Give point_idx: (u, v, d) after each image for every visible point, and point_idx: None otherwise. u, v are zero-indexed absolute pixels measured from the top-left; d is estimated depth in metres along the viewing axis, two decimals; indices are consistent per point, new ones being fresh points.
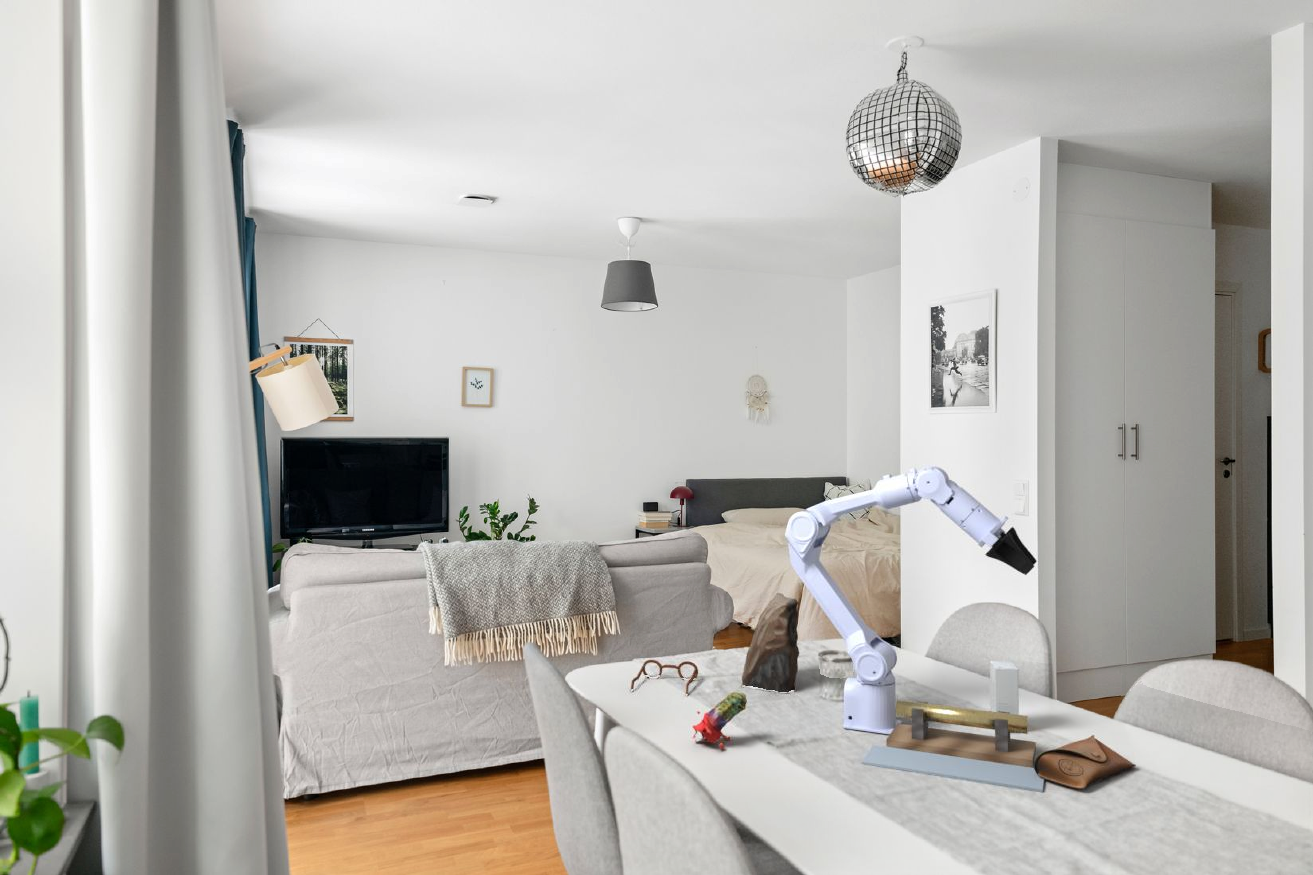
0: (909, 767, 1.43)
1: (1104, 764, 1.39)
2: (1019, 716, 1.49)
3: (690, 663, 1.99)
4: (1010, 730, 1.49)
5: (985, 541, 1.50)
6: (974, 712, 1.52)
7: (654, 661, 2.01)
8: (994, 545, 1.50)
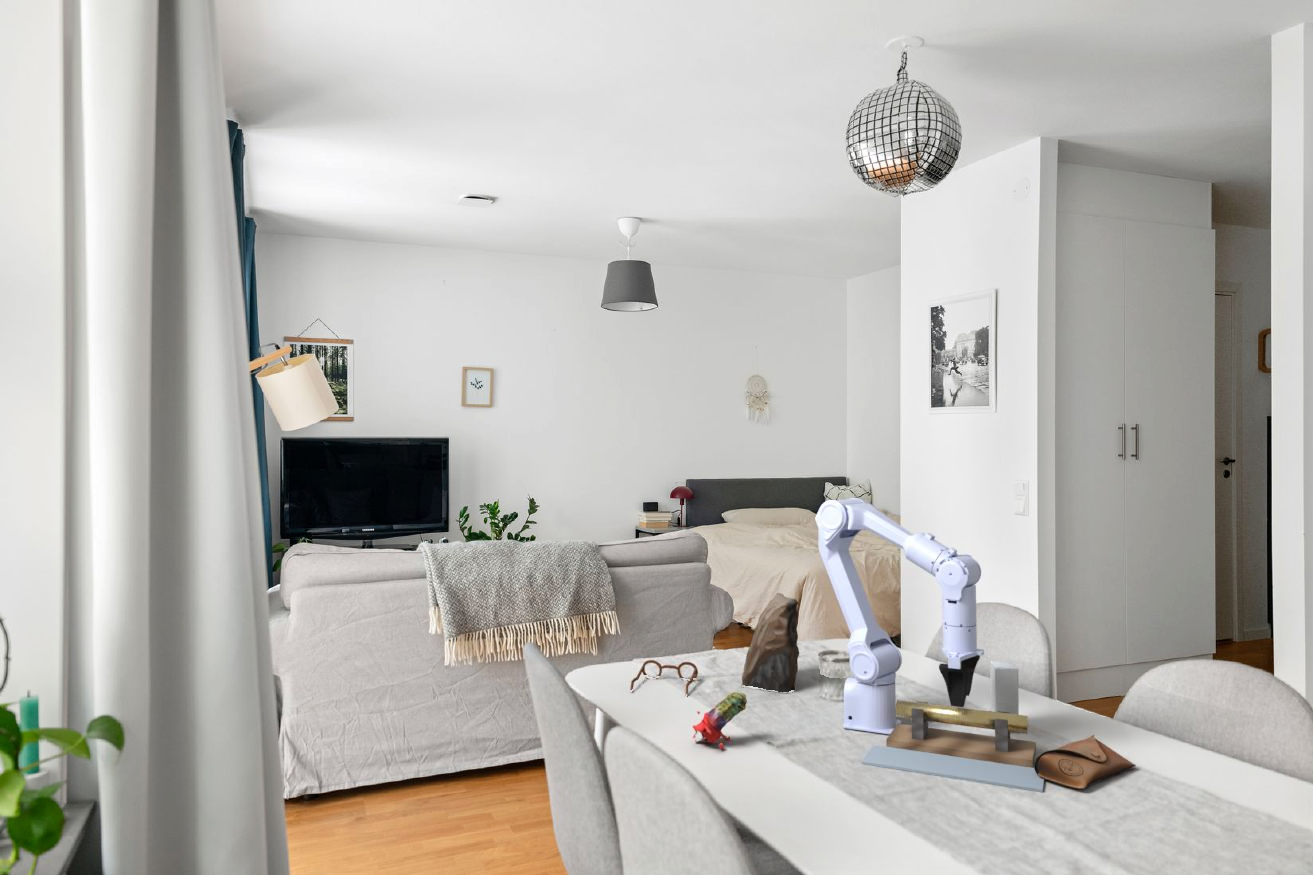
0: (909, 767, 1.43)
1: (1104, 764, 1.39)
2: (1019, 716, 1.49)
3: (690, 663, 1.98)
4: (1010, 730, 1.49)
5: (949, 660, 1.48)
6: (974, 712, 1.52)
7: (654, 661, 2.00)
8: (952, 668, 1.49)
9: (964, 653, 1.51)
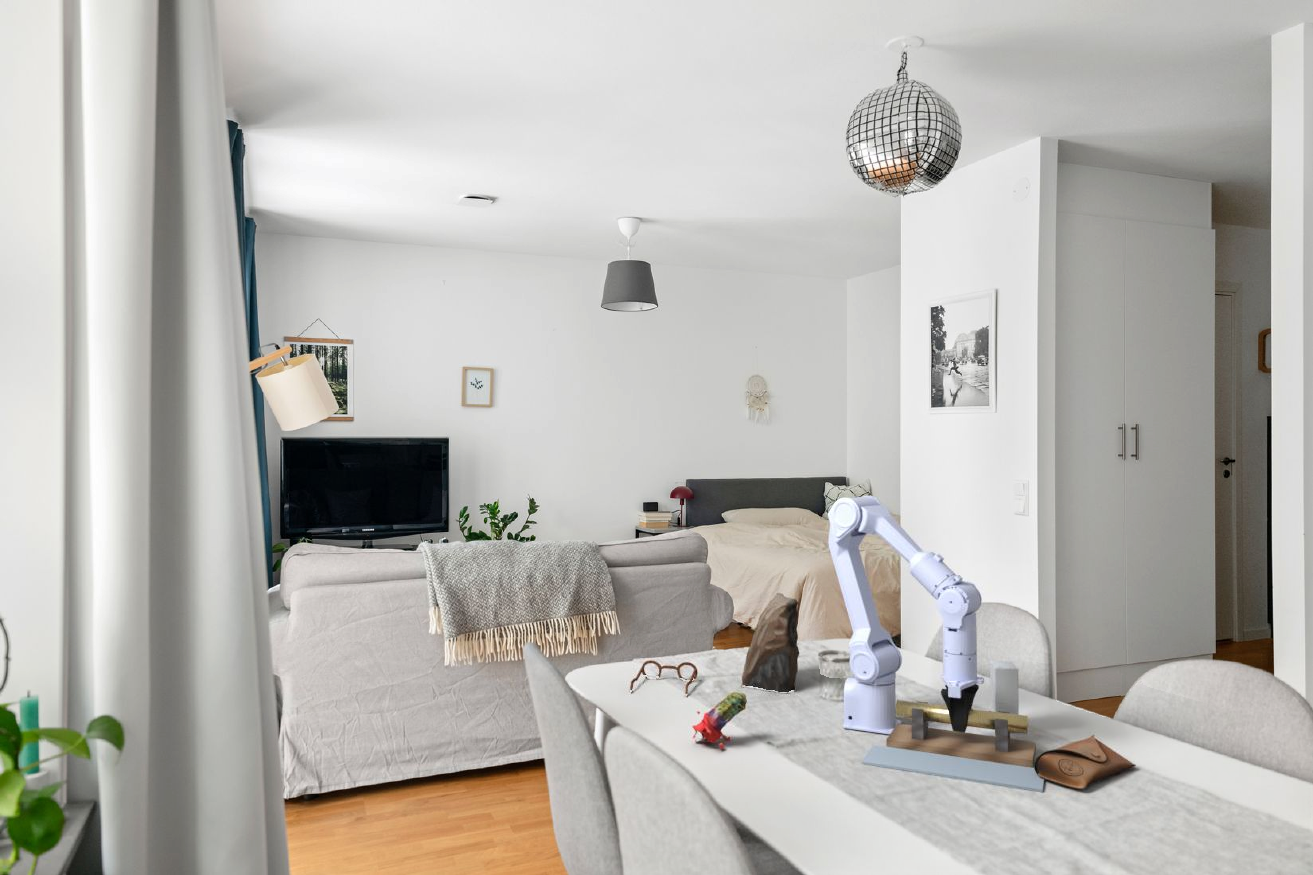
0: (909, 767, 1.43)
1: (1104, 764, 1.39)
2: (1019, 716, 1.49)
3: (689, 664, 1.98)
4: (1010, 730, 1.49)
5: (949, 689, 1.48)
6: (974, 712, 1.52)
7: (653, 662, 2.00)
8: None
9: (964, 681, 1.51)
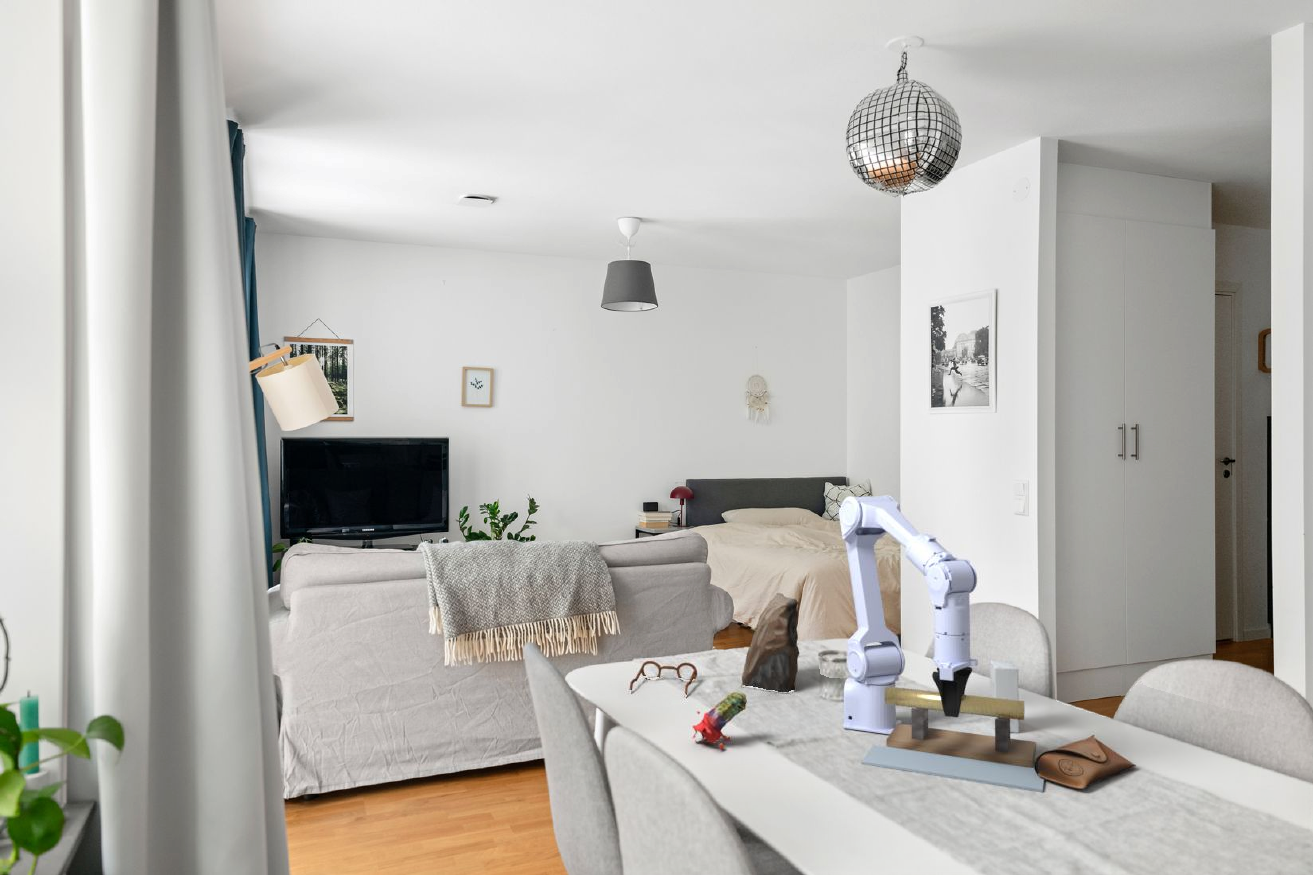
0: (909, 767, 1.43)
1: (1104, 764, 1.39)
2: (1015, 701, 1.41)
3: (689, 664, 1.97)
4: (1005, 716, 1.41)
5: (941, 671, 1.39)
6: (967, 698, 1.43)
7: (653, 662, 1.99)
8: None
9: (957, 663, 1.42)
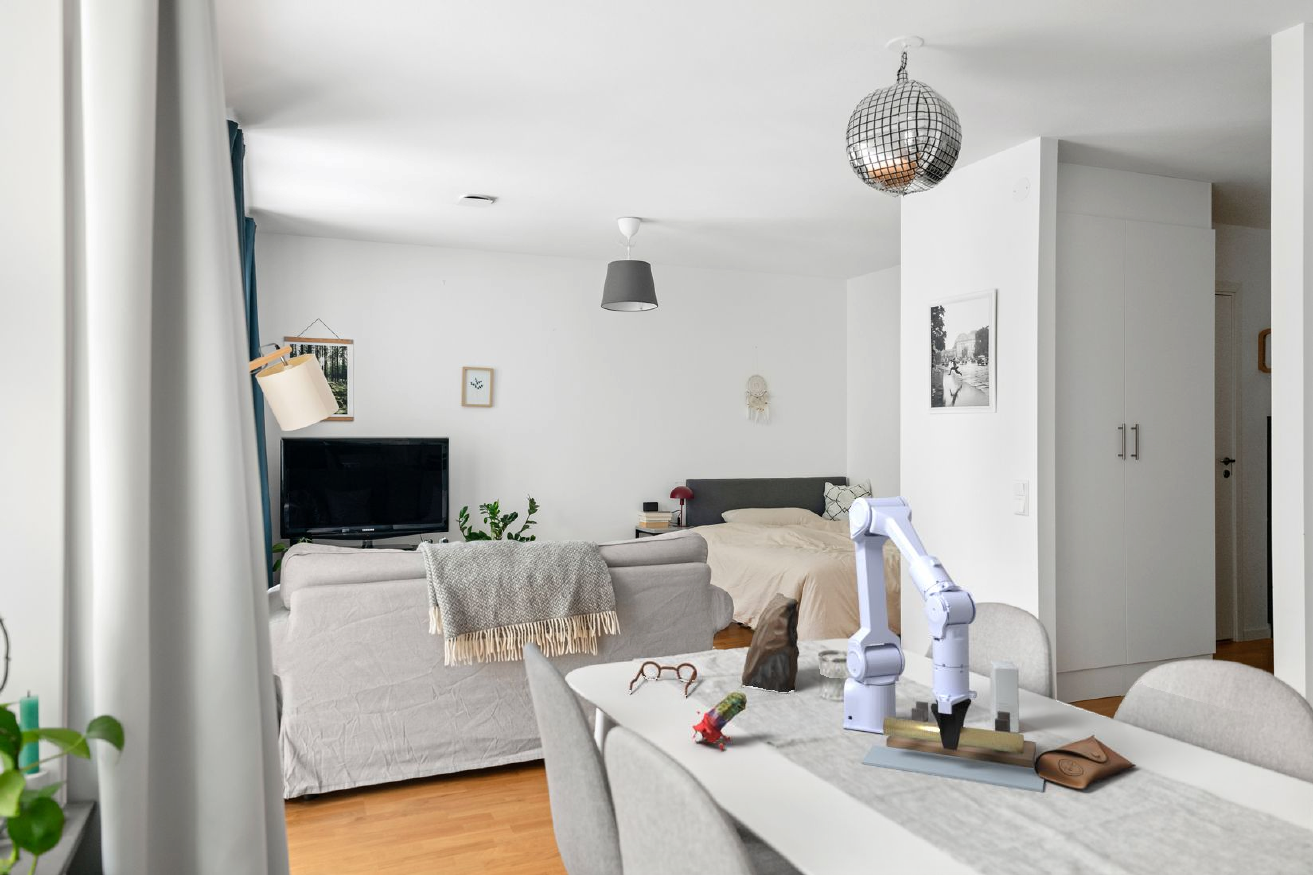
0: (909, 767, 1.43)
1: (1104, 764, 1.39)
2: (1014, 735, 1.39)
3: (689, 665, 1.97)
4: (1004, 749, 1.39)
5: (939, 704, 1.38)
6: (966, 730, 1.42)
7: (653, 663, 1.99)
8: None
9: (956, 696, 1.41)
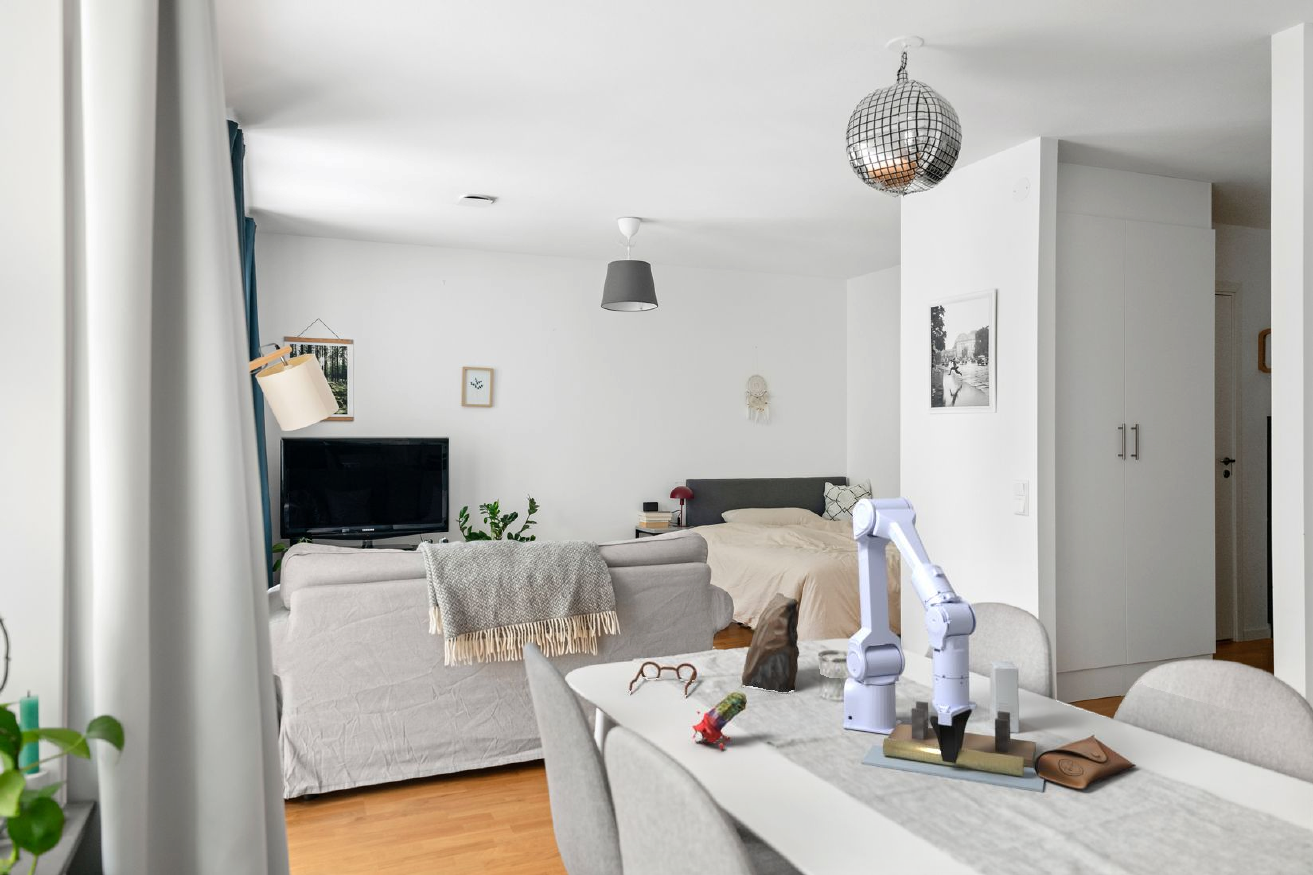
0: (909, 767, 1.43)
1: (1104, 764, 1.39)
2: (1014, 758, 1.39)
3: (689, 665, 1.97)
4: (1004, 772, 1.39)
5: (939, 716, 1.38)
6: (966, 753, 1.42)
7: (652, 663, 1.99)
8: None
9: (956, 707, 1.41)
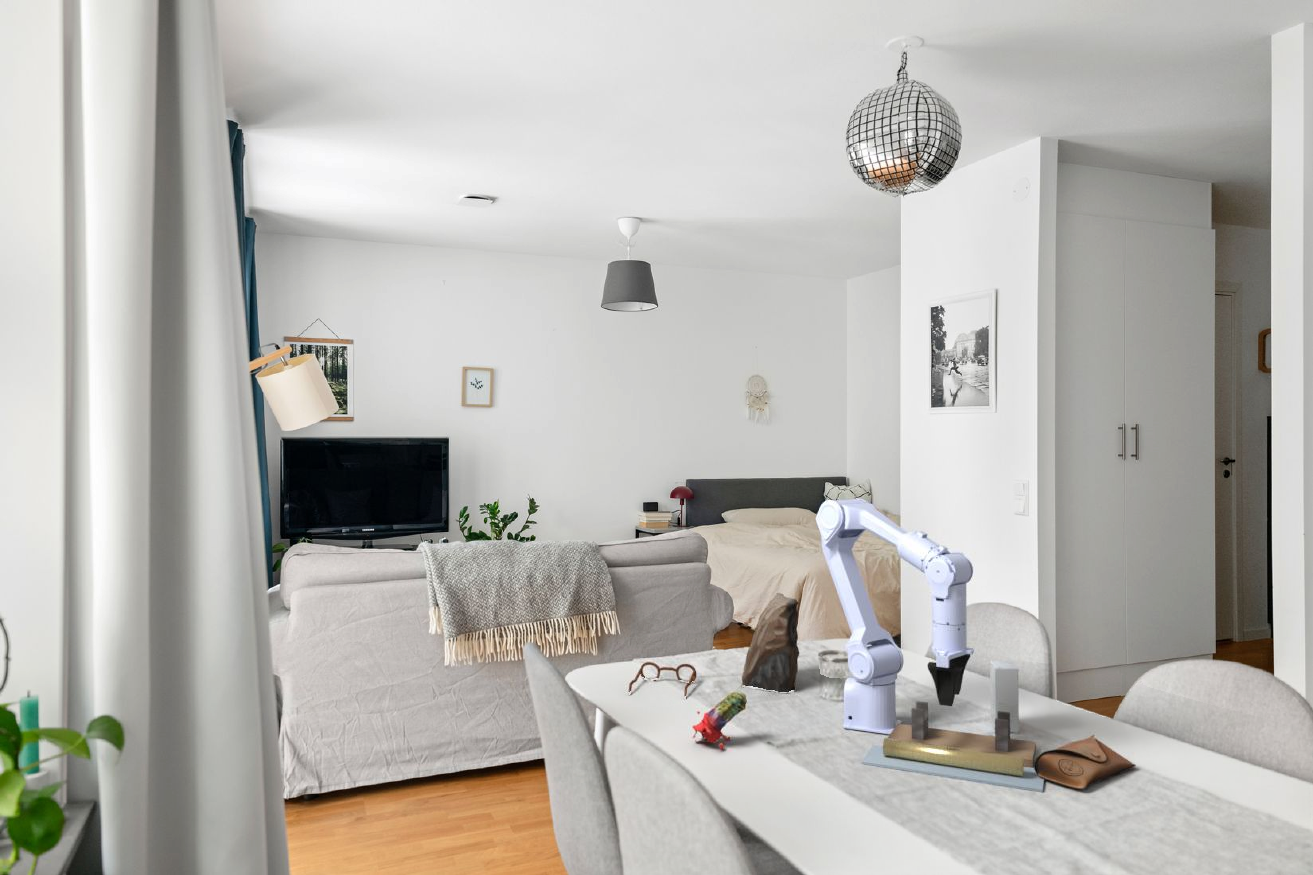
0: (909, 767, 1.43)
1: (1104, 764, 1.39)
2: (1014, 758, 1.39)
3: (688, 665, 1.96)
4: (1004, 772, 1.39)
5: (937, 659, 1.47)
6: (966, 753, 1.42)
7: (652, 663, 1.98)
8: (941, 667, 1.47)
9: (953, 652, 1.50)
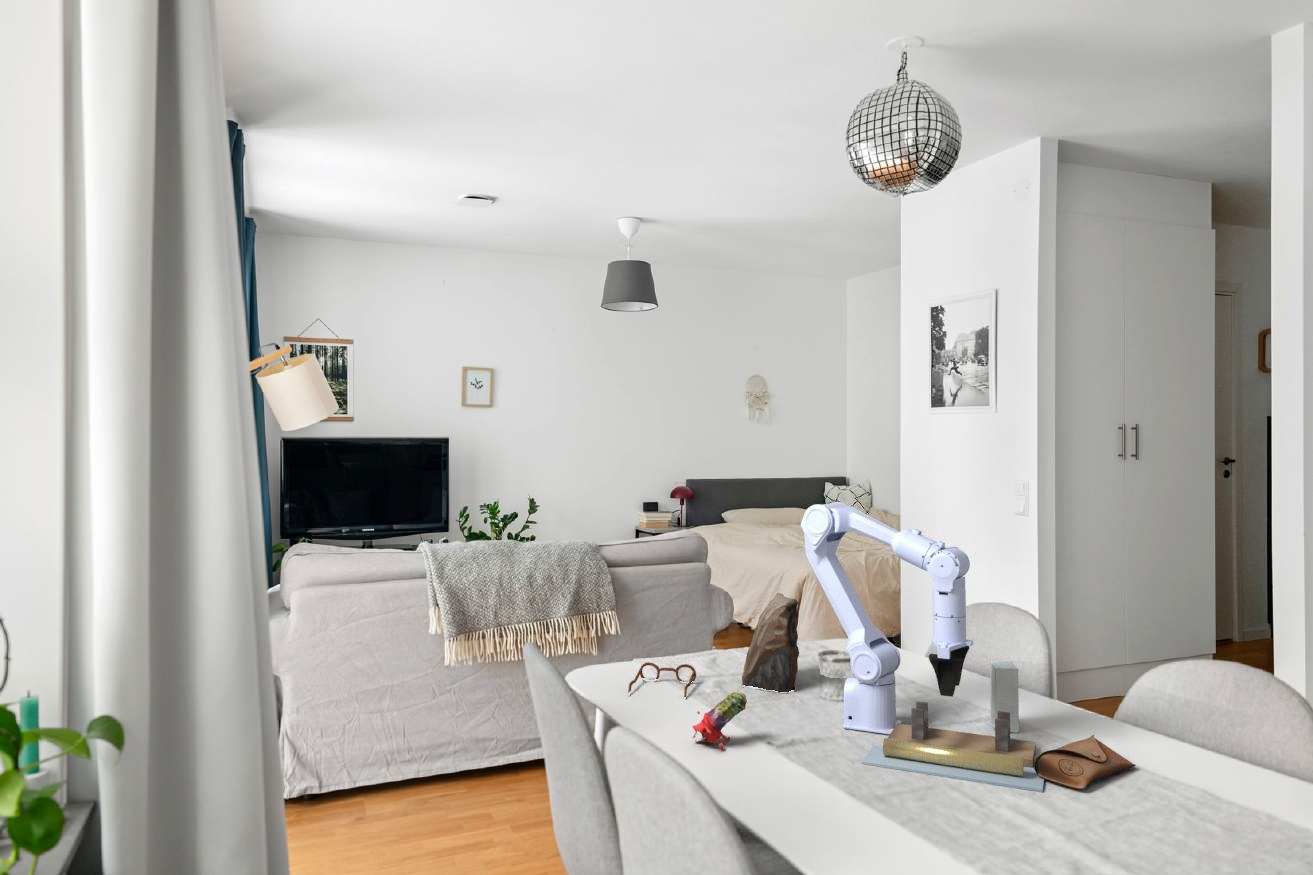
0: (909, 767, 1.43)
1: (1104, 764, 1.39)
2: (1014, 758, 1.39)
3: (688, 666, 1.96)
4: (1004, 772, 1.39)
5: (939, 650, 1.51)
6: (966, 753, 1.42)
7: (651, 664, 1.98)
8: (942, 658, 1.51)
9: (953, 643, 1.54)
